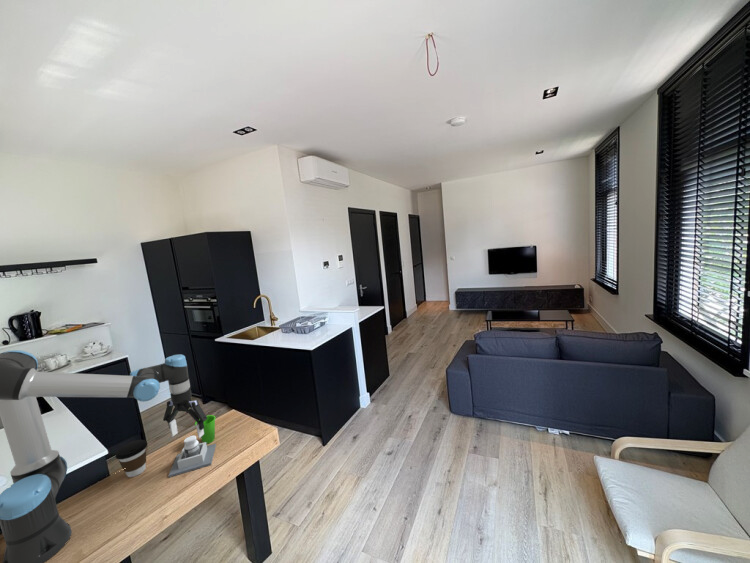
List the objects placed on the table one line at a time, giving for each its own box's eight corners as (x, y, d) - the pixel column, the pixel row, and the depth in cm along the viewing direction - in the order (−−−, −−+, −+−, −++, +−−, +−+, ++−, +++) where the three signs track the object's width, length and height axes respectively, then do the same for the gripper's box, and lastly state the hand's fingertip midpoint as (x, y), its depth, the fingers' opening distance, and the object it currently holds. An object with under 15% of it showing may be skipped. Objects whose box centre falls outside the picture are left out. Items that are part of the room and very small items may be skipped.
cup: (195, 443, 148) (191, 422, 146) (213, 432, 155) (209, 413, 154) (204, 449, 143) (200, 428, 141) (222, 438, 150) (219, 417, 148)
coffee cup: (154, 469, 132) (149, 444, 130) (123, 486, 124) (116, 459, 122) (148, 459, 139) (143, 435, 138) (118, 474, 131) (112, 449, 130)
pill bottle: (186, 458, 136) (182, 438, 134) (200, 452, 139) (197, 432, 138) (186, 465, 131) (182, 444, 130) (201, 459, 134) (198, 439, 133)
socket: (168, 477, 126) (166, 468, 126) (177, 456, 139) (176, 447, 139) (211, 465, 131) (209, 455, 131) (216, 445, 145) (214, 437, 144)
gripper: (211, 386, 132) (218, 431, 135) (163, 385, 137) (170, 429, 139) (199, 395, 125) (206, 442, 127) (148, 394, 129) (156, 439, 132)
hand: (187, 435), depth 133 cm, fingers open, 13 cm apart
